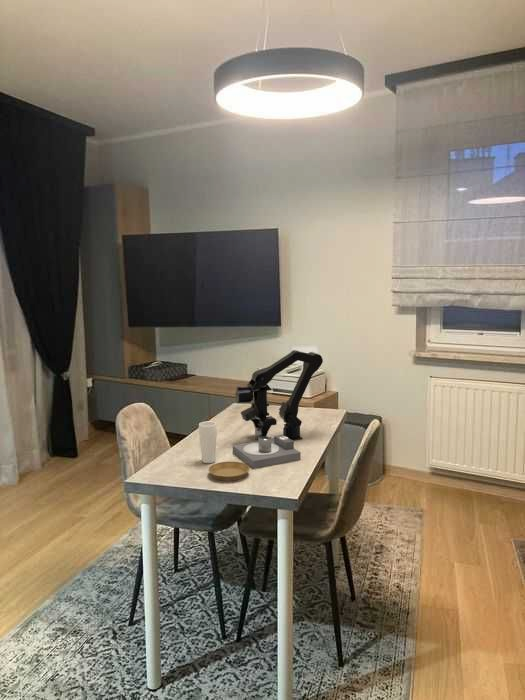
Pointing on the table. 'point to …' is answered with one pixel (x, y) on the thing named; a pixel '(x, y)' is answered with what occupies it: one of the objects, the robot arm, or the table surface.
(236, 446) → the kitchen scale
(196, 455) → the table surface
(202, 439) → the drinking glass
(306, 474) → the table surface
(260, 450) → the cylinder
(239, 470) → the plant saucer
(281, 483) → the table surface
